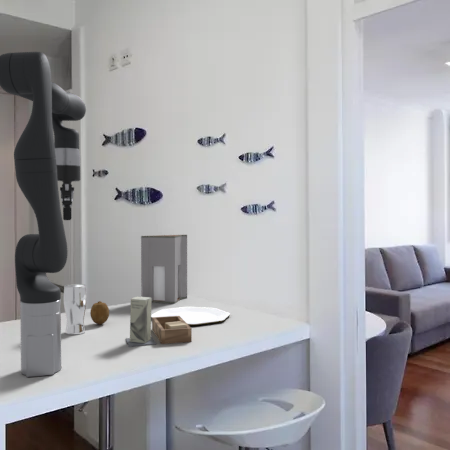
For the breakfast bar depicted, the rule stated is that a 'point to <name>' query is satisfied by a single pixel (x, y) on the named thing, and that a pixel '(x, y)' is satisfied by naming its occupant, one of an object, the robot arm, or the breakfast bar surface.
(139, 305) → the box
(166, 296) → the cabinet
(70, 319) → the beer glass
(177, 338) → the wooden tray
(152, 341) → the mat
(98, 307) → the fruit
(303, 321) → the breakfast bar surface
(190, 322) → the plate
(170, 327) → the offcut
